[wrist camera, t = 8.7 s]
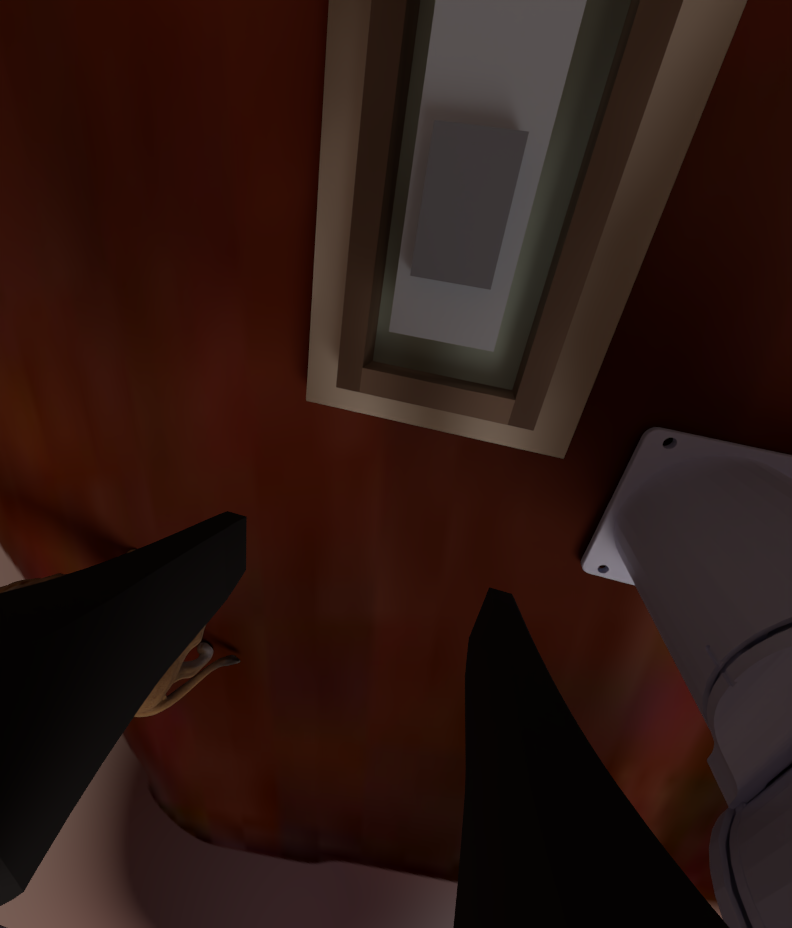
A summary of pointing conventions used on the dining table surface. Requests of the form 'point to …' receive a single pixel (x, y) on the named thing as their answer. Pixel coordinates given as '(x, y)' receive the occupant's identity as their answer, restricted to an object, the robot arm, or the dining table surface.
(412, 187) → the grey pillar with nub
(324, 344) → the cradle jig
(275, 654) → the dining table surface
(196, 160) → the dining table surface
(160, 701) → the lion figurine
